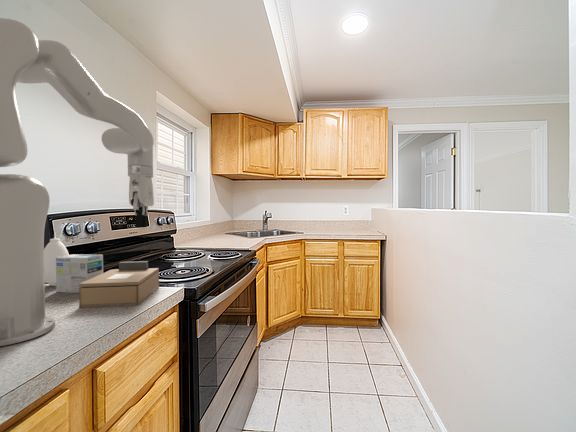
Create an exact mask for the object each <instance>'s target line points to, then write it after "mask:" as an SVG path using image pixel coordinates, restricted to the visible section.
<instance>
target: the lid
mask: <svg viewBox="0 0 576 432" xmlns="http://www.w3.org/2000/svg"><path fill="white" fill-rule="evenodd" d="M159 270H160V268H159V267H152V268H149V260H140V261H139V260H138V261H120V262H118V268H115V269H109V270H107V271H105V272H103V273H102V274H100V275H98V276H96V277H93V278H91V279H89V280H87V281H84V282H82V283H80V284H79V287H94V286H122V285H139V284H140V283H142V282H143V281H144V280H146V279H147V278H149V277H150V276H152V275H153V274H155V273H156V272H158V271H159ZM159 272H160V271H159Z"/></svg>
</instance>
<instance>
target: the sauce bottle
mask: <svg viewBox="0 0 576 432" xmlns="http://www.w3.org/2000/svg"><path fill="white" fill-rule="evenodd" d="M53 233H54V234H53V238H50V239H49V242H48V243H47V244H46V246H44V270H45V283H46V284H48V285H49V286H52V287H56V257H59V256H66V255H70V254H69V250H68V249H67V247H66V246H65V244H64V243H63V242H62V241H61V239H60V238H58V237H57V233H56V230H54V232H53Z"/></svg>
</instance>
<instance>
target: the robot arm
mask: <svg viewBox="0 0 576 432" xmlns="http://www.w3.org/2000/svg"><path fill="white" fill-rule="evenodd" d="M17 83H21V84H29V85H30V84H44V83H45V84H46V83H47V84H49V85H50V86H51V87H53V90H55V91H56V92H57V93H58V94H59V95H60V96H61V97H62V99H64V100H65V101H66V102H67V103H68V104H69V105H70V106H71V107H72V108H73V110H75V112H77V113H78V114H79V115H82V116H84V117H87V118H90V119H93V120H95V121H100V122H104V123H107V124H111V125H113V126H115V127H113V128H109V129H106V130H104V131H103V133H102V134H101V143H102V146H103V147H104V148H105V149H106V150H108V151H109V152H111V153H114V154H122V155H124V154H125V155H127V177H129V183H128V184H129V185H128V203H129V206H132V209H133V211H134V216H135V218H134V220H135V222H134V225H135V228H140V229H141V228H142V229H143V228H144V229H146V228H148V210H149V207H153V206H154V204H155V202H154V201H155V200H154V199H155V197H154V185H153V180H152V179H153V178H154V153H153V152H154V150H153V149H154V144H155V143H154V137H153V134H152V132H151V130H150V129H149V126H148V125H147V124H146V123H145V121H144V120H143V118H142V117H141V116H140V115H139V114H138V113H136V111H134V110H133V109H131V107H129V106H127V105H125V104H124V103H122V102H120V101H119V100H117V99H115V98H113V97H111V96H109V95H108V94H107V93H106V92H104V90H103V89H102V88H101V87H100V86H99V84H98V83H97V82H96V80H94V78H93V77H92V75H90V73H89V72H88V71H87V69H86V68H85V67H84V66H83V64H82V63H81V62H80V60H79V59H78V58H77V57H76V56H75V54H74V53H73V51H71V49H70V48H69V47H67V46H66V45H64V44H63V43H61V42H59V41H57V40H56V41H55V40H48V39H47V40H46V39H43V40H42V39H41V40H39V39H38V38H37V36H36V34H35V33H34V31H33V30H32V29H31V28H30V27H29V26H28V25H26V24H24V23H22V22H21V21H18V20H15V19H12V18H7V17H6V18H5V17H4V18H2V17H1V18H0V168H6V167H7V168H8V167H13V166H17V165H20V164H21V163H23V162H24V161H26V159H27V156H28V143H27V140H26V136H25V131H24V127H23V123H22V119H21V115H20V112H19V107H18V102H17V95H16V86H17ZM49 209H50V194H49V192H48V190H47V188H46V187H45V185H44V184H42V182H40V181H39V180H37V179H35V178H33V177H30V176H27V175H23V174H13V173H12V174H11V173H10V174H9V173H7V174H6V173H5V174H3V173H2V174H0V347H4V346H5V347H6V346H8V345H14V344H18V343H21V342H25V341H30V340H32V339H34V338H37V337H39V336H42V335H44V334H47V333H49V332H50V331H52V330H53V329H54V327H55V326H56V320H55V318H52V317H49V316H46V291H45V290H46V287H45V285H46V284H45V270H44V249H45V228H46V222H47V217H48V213H49Z"/></svg>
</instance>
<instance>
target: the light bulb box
mask: <svg viewBox="0 0 576 432" xmlns="http://www.w3.org/2000/svg"><path fill="white" fill-rule="evenodd" d="M102 273H104V254H91V253H90V254H83V253H81V254H78V253H77V254H76V253H75V254H74V253H73V254H69V255H66V256H59V257H56V286H55V287H56V289H55V292H56V293H73V294H74V293H75V294H77V293H78V294H79V288H81V287H79V284H80V283H82V282H84V281H87V280H89V279H91V278H93V277H96V276H98V275H100V274H102Z"/></svg>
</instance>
